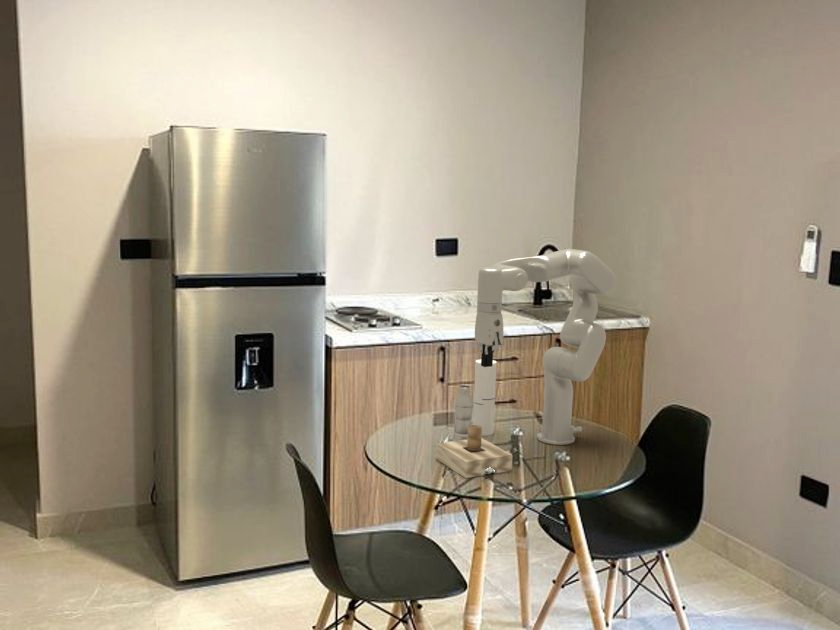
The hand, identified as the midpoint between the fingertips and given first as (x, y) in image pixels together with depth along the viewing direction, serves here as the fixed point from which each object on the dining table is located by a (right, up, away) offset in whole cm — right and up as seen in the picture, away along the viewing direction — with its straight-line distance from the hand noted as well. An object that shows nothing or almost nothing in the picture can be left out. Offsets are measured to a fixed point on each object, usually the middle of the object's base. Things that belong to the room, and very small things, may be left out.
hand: (486, 366), depth 265 cm
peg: (-4, -30, -3) cm, 31 cm away
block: (-4, -30, -4) cm, 31 cm away
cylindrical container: (+1, -25, +29) cm, 38 cm away
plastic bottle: (-7, -27, +14) cm, 31 cm away
